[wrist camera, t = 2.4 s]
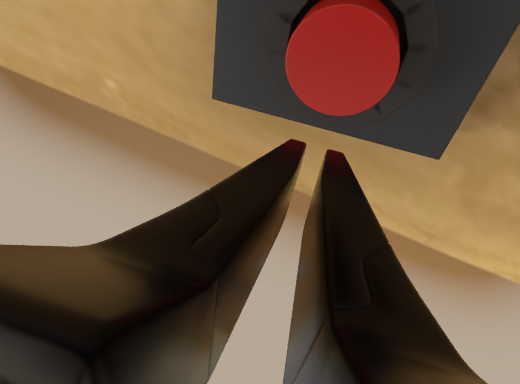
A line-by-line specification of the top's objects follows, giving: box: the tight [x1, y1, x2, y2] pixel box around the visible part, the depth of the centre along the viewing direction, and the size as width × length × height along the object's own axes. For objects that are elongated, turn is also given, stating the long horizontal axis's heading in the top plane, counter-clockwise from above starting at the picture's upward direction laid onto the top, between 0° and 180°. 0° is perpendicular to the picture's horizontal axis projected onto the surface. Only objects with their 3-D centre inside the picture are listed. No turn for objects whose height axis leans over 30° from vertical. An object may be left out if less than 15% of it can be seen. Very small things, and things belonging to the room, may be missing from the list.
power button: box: [285, 0, 400, 116], centre depth 15 cm, size 4×4×2 cm
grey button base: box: [212, 0, 520, 160], centre depth 17 cm, size 13×10×4 cm
